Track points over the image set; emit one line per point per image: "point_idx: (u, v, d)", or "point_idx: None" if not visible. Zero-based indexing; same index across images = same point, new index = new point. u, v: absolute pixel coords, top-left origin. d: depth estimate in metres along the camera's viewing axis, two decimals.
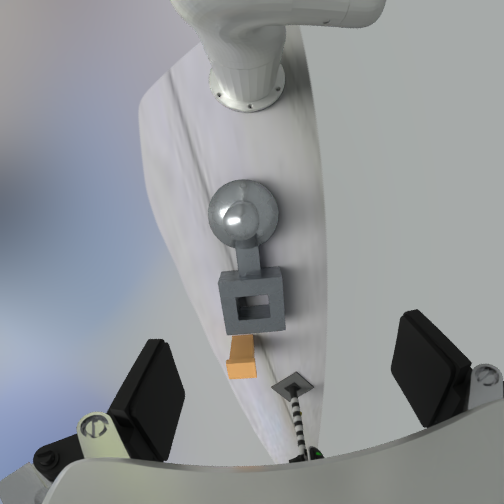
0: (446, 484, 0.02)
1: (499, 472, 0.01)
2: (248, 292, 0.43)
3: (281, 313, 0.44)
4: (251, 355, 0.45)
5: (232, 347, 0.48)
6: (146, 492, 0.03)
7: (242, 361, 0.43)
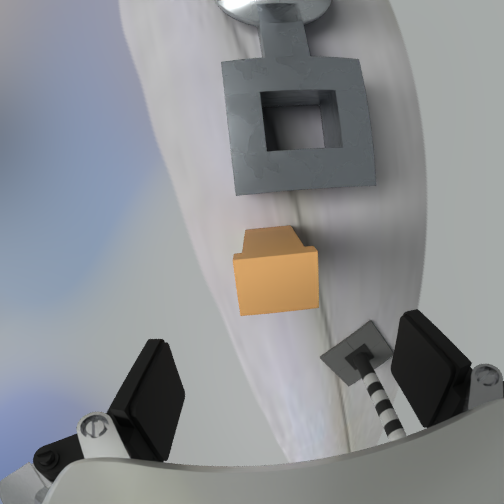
0: (446, 484, 0.02)
1: (499, 472, 0.01)
2: (290, 81, 0.16)
3: (365, 139, 0.17)
4: (301, 246, 0.17)
5: (247, 240, 0.20)
6: (146, 492, 0.03)
7: (281, 253, 0.16)
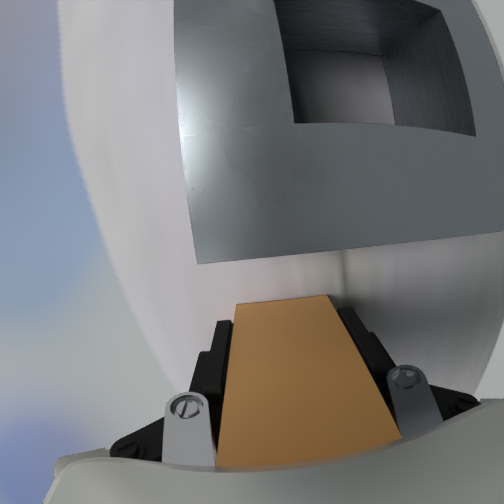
0: (446, 484, 0.02)
1: (499, 472, 0.01)
2: None
3: None
4: (381, 411, 0.05)
5: (238, 360, 0.08)
6: (146, 492, 0.03)
7: None
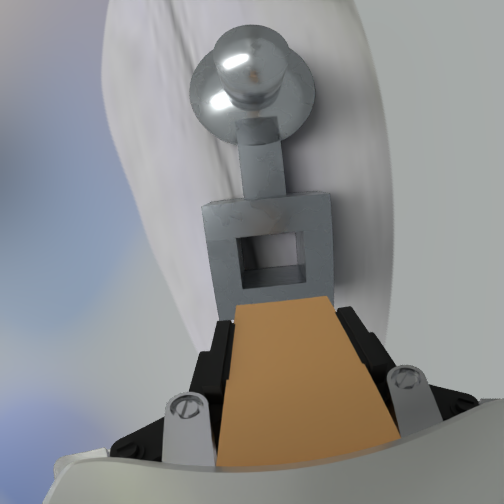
0: (446, 484, 0.02)
1: (499, 472, 0.01)
2: (263, 226, 0.21)
3: (327, 273, 0.22)
4: (381, 412, 0.05)
5: (238, 361, 0.08)
6: (146, 492, 0.03)
7: None
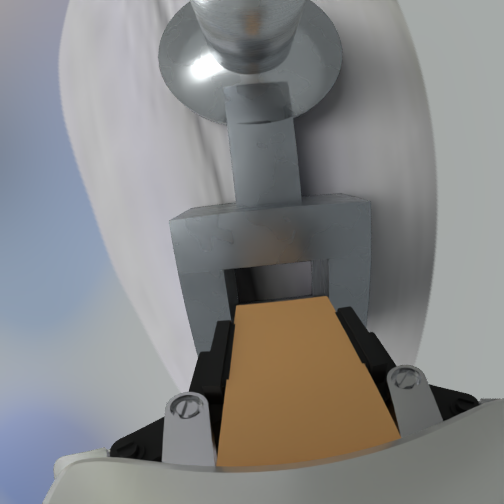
0: (446, 484, 0.02)
1: (499, 472, 0.01)
2: (266, 252, 0.13)
3: (359, 317, 0.14)
4: (381, 412, 0.05)
5: (238, 361, 0.08)
6: (146, 492, 0.03)
7: None
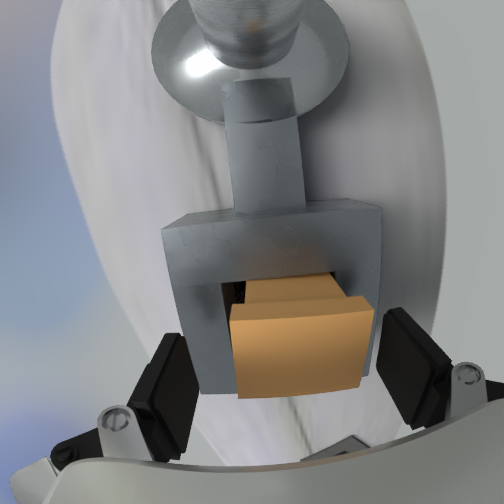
0: (446, 484, 0.02)
1: (499, 472, 0.01)
2: (267, 264, 0.12)
3: None
4: (339, 291, 0.11)
5: None
6: (146, 492, 0.03)
7: (313, 309, 0.09)
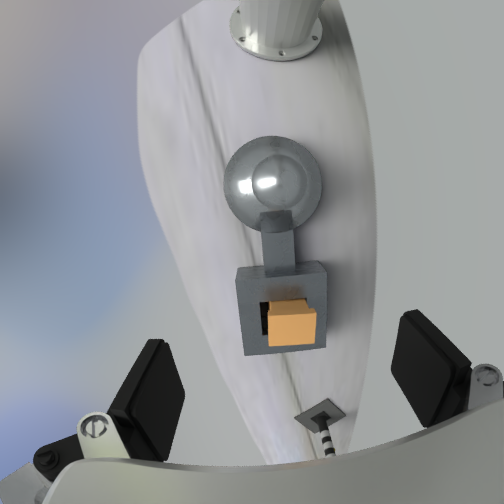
0: (446, 484, 0.02)
1: (499, 472, 0.01)
2: (278, 295, 0.30)
3: (322, 324, 0.31)
4: (306, 306, 0.28)
5: None
6: (146, 492, 0.03)
7: (295, 312, 0.27)
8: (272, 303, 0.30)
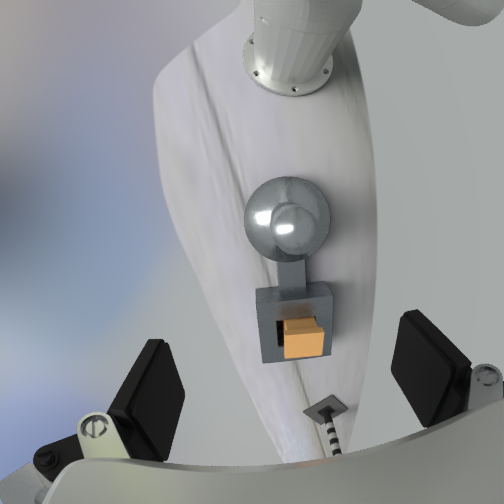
0: (446, 484, 0.02)
1: (499, 472, 0.01)
2: (292, 314, 0.35)
3: (328, 337, 0.36)
4: (315, 324, 0.33)
5: None
6: (146, 492, 0.03)
7: (307, 331, 0.32)
8: (287, 322, 0.35)
